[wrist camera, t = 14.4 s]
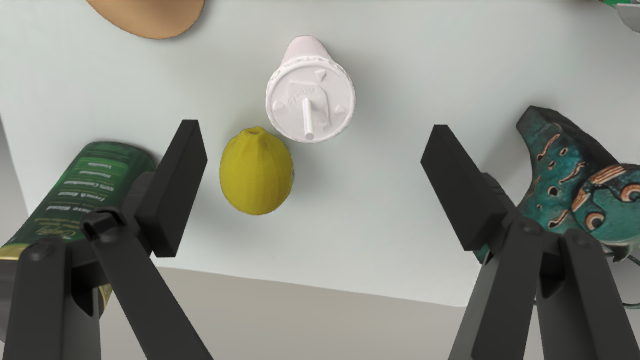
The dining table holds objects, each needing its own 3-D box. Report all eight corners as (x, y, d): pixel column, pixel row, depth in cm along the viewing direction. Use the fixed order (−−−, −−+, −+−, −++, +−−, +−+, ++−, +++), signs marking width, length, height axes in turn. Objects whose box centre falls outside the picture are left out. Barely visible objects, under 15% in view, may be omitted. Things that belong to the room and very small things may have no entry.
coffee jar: (78, 130, 31) (-89, 303, 17) (160, 147, 33) (69, 312, 20) (92, 194, 37) (-23, 359, 23) (161, 204, 39) (92, 362, 26)
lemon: (284, 187, 39) (283, 237, 33) (222, 177, 37) (209, 228, 31) (305, 116, 32) (308, 163, 26) (230, 100, 30) (216, 146, 24)
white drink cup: (313, 2, 25) (330, 66, 14) (352, 63, 29) (387, 150, 18) (256, 49, 27) (236, 135, 17) (299, 100, 31) (304, 196, 20)
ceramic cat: (531, 88, 32) (741, 242, 17) (580, 98, 33) (813, 249, 18) (442, 211, 45) (518, 360, 30) (479, 215, 46) (569, 359, 31)
